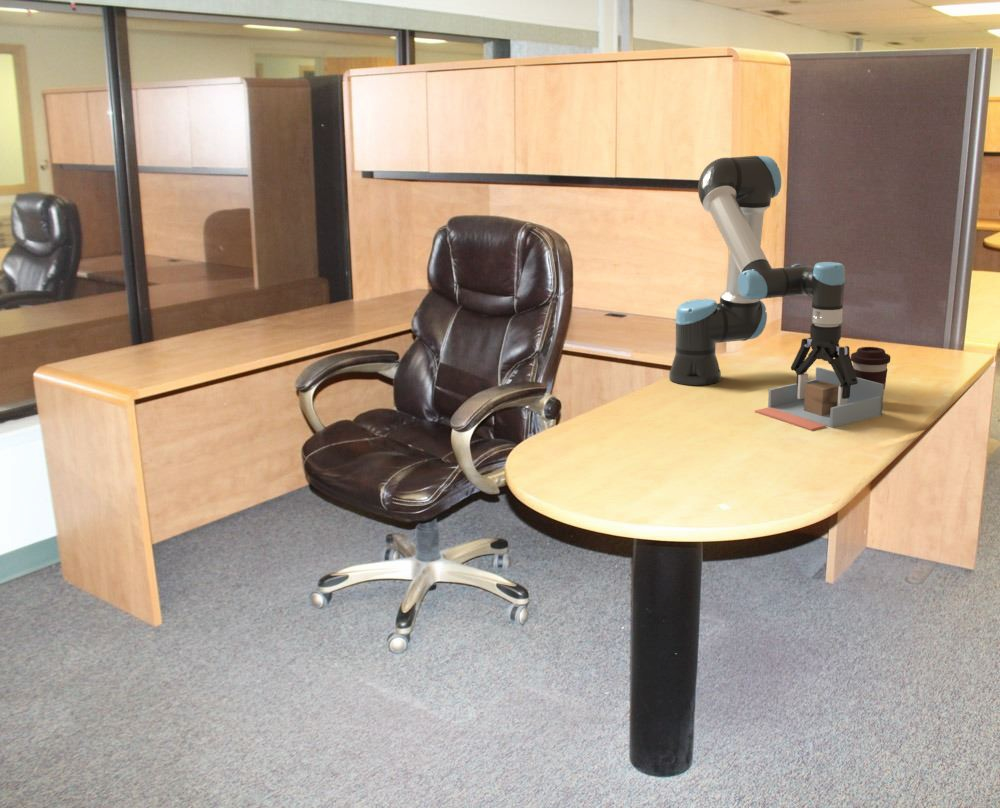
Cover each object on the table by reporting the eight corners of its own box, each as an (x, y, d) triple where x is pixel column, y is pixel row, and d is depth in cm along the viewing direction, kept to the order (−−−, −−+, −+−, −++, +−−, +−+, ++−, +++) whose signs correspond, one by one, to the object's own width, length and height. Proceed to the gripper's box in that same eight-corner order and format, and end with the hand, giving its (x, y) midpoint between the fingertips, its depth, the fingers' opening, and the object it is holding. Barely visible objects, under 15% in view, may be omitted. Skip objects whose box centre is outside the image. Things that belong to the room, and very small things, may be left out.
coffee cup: (889, 409, 268) (893, 354, 264) (850, 408, 270) (853, 353, 266) (883, 398, 278) (887, 345, 274) (845, 398, 280) (849, 344, 276)
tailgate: (768, 411, 269) (754, 415, 267) (769, 407, 269) (755, 410, 266) (825, 430, 253) (811, 434, 250) (826, 425, 252) (811, 429, 250)
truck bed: (767, 410, 271) (769, 377, 268) (816, 399, 279) (818, 367, 277) (831, 431, 252) (833, 396, 250) (881, 418, 261) (884, 384, 258)
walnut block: (820, 406, 269) (821, 381, 267) (838, 412, 264) (839, 386, 262) (803, 410, 266) (805, 384, 264) (821, 416, 261) (823, 389, 259)
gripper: (779, 318, 267) (776, 395, 273) (854, 334, 246) (849, 417, 252) (800, 314, 271) (796, 391, 277) (876, 330, 250) (870, 412, 256)
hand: (821, 404), depth 264 cm, fingers open, 13 cm apart
